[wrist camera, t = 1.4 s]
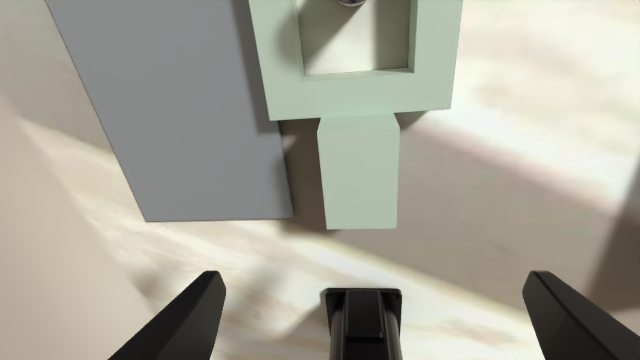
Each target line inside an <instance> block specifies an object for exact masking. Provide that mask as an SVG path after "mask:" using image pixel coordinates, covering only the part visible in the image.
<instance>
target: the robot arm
mask: <svg viewBox="0 0 640 360" xmlns="http://www.w3.org/2000/svg"><path fill="white" fill-rule="evenodd" d="M522 295H523V299H524V302H525V305H526V307H527V310H528V313H529V316H530V319H531V322H532V325H533V327H534V330H535V333H536V336H537V339H538V342H539V345H540V347H541V350H542V352H543V355H544V357H545V359H546V360H640V336H638V335H637V334H635V333H634V332H633V331H631V330H630V329H629V328H627V327H626V326H624V325H623V324H622V323H620V322H619V321H617V320H616V319H615V318H613V317H612V316H611V315H609V314H608V313H606V312H605V311H604V310H602V309H601V308H600V307H598V306H597V305H595V304H594V303H593V302H591V301H590V300H588V299H587V298H586V297H584V296H583V295H582V294H580V293H579V292H577V291H576V290H575V289H573V288H572V287H571V286H569V285H568V284H566V283H565V282H564V281H562V280H561V279H559V278H558V277H557V276H555V275H554V274H553V273H551V272H549V271H531V272H530V273H529V275H528V277H527V280H526V282H525V284H524V287H523V290H522ZM225 296H226V287H225V284H224V282H223V279H222V277H221V275H220V273H219V272H218V271H205V272H203V273H202V274H201V275H200V276H199V277H198V278H196V279H195V280H194V281H193V282H192V283H191V284H190V285H189V286H188V287H187V288H186V289H184V290H183V291H182V292H181V293H180V294H179V295H178V296H177V297H176V298H175V299H173V300H172V301H171V302H170V303H169V304H168V305H167V306H166V307H165V308H164V309H163V310H161V311H160V312H159V313H158V314H157V315H156V316H155V317H154V318H153V319H152V320H150V322H149V323H147V324H146V325H145V326H144V327H143V328H142V329H141V330H140V331H138V332H137V333H136V334H135V335H134V336H133V337H132V338H131V339H130V340H129V341H128V342H126V343H125V344H124V345H123V346H122V347H121V348H120V349H119V350H118V351H117V352H115V353H114V354H113V355H112V356H111V357H110V358H109V359H108V360H209V359H210V356H211V354H212V350H213V347H214V344H215V340H216V336H217V332H218V327H219V323H220V318H221V314H222V310H223V305H224V301H225ZM325 297H326V305H327V314H328V322H329V330H330V337H331V342H330V358H329V360H403V358H402V352H401V345H400V325H401V306H402V294H401V291H400V290H399V289H372V288H329V289H327V290H326V294H325Z"/></svg>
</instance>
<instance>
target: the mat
mask: <svg viewBox="0 0 640 360" xmlns="http://www.w3.org/2000/svg"><path fill="white" fill-rule="evenodd" d="M46 2H47V4H48V7H49V9H50V11H51V13H52V16H53V18H54V20H55V22H56V24H57V27H58V29H59V31H60V33H61V35H62V38H63V40H64V42H65V44H66V46H67V49H68V51H69V53H70V55H71V57H72V60H73V62H74V64H75V66H76V68H77V71H78V73H79V75H80V77H81V80H82V82H83V84H84V86H85V88H86V91H87V93H88V95H89V97H90V99H91V102H92V104H93V106H94V108H95V110H96V113H97V115H98V117H99V119H100V121H101V124H102V126H103V128H104V130H105V132H106V135H107V137H108V139H109V141H110V144H111V146H112V148H113V150H114V152H115V155H116V157H117V159H118V161H119V163H120V166H121V168H122V170H123V172H124V174H125V177H126V179H127V181H128V183H129V185H130V188H131V190H132V192H133V194H134V196H135V199H136V201H137V203H138V205H139V208H140V210H141V212H142V214H143V216H144V219H145V221H190V220H235V219H279V218H293V216H294V211H293V204H292V198H291V192H290V186H289V180H288V174H287V167H286V161H285V155H284V149H283V143H282V137H281V130H280V124H279V120H273V121H270V118H269V112H268V107H267V101H266V95H265V90H264V84H263V78H262V73H261V67H260V61H259V56H258V50H257V45H256V39H255V33H254V28H253V22H252V16H251V11H250V5H249V0H46Z"/></svg>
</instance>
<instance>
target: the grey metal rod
mask: <svg viewBox="0 0 640 360" xmlns="http://www.w3.org/2000/svg"><path fill="white" fill-rule="evenodd" d="M336 1H337V2H338V3H339V4H341V5H343V6H346V7H355V6H358V5H360V4H362V3H364V2H365V1H366V0H336Z"/></svg>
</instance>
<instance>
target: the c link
mask: <svg viewBox="0 0 640 360" xmlns="http://www.w3.org/2000/svg"><path fill="white" fill-rule="evenodd" d="M462 4H463V0H411V5H410V28H409V51H408V67H407V68H395V69H383V70H371V71H358V72H346V73H334V74H322V75H310V76H305V75H304V66H303V57H302V48H301V39H300V30H299V21H298V12H297V3H296V0H249V5H250V11H251V16H252V22H253V28H254V33H255V39H256V45H257V50H258V56H259V61H260V67H261V73H262V78H263V84H264V90H265V95H266V101H267V107H268V112H269V118H270V121H273V120H288V119H304V118H320V117H321V120H320V124H319V127H318V130H317V138H318V148H319V158H320V168H321V177H322V187H323V197H324V207H325V217H326V226H327V229H379V228H396V223H397V195H398V166H399V138H400V127H399V124H398V122H397V120H396V118H395V115H394V113H397V112H413V111H429V110H444V109H450V108H451V100H452V91H453V82H454V74H455V65H456V56H457V48H458V39H459V30H460V21H461V13H462Z"/></svg>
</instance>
